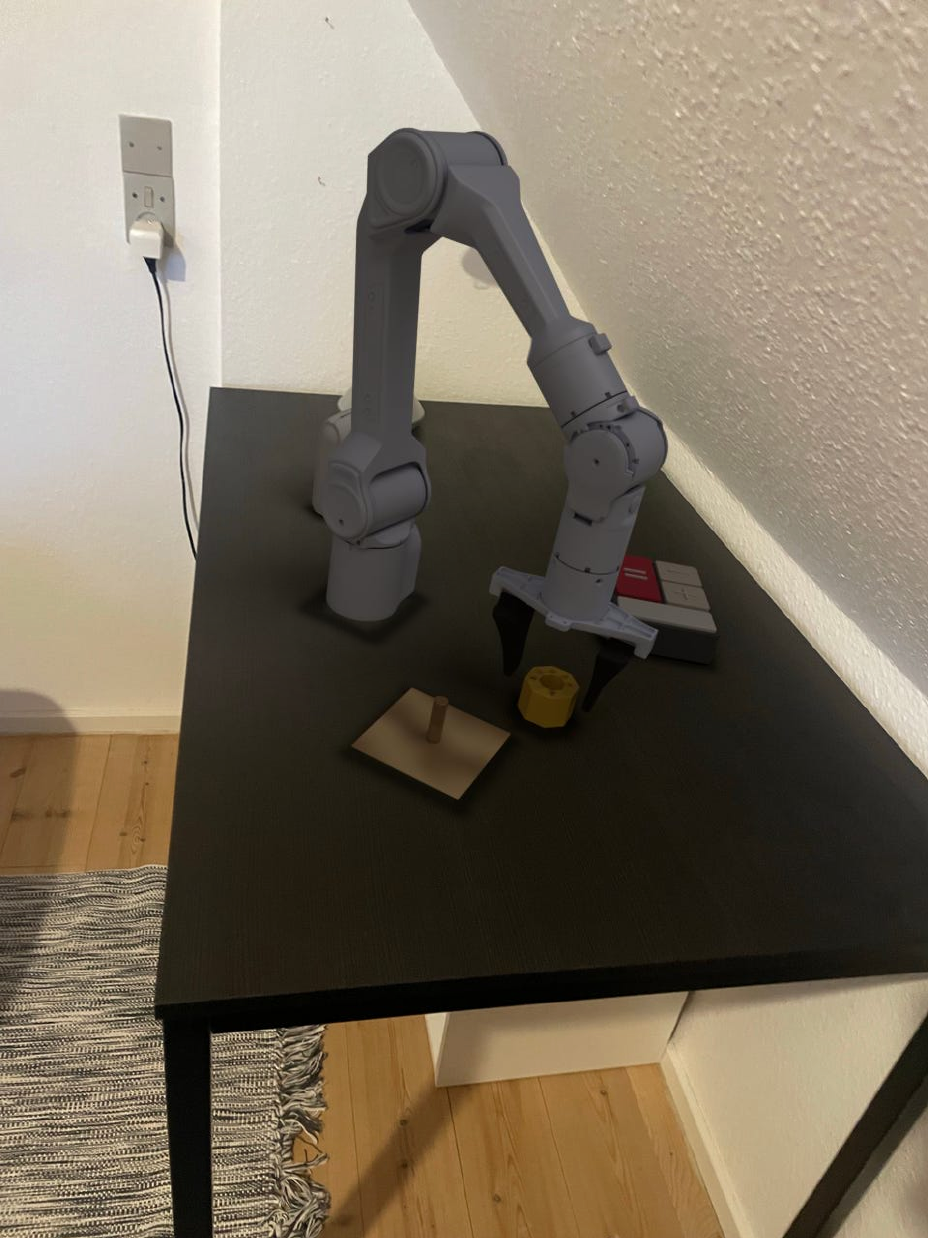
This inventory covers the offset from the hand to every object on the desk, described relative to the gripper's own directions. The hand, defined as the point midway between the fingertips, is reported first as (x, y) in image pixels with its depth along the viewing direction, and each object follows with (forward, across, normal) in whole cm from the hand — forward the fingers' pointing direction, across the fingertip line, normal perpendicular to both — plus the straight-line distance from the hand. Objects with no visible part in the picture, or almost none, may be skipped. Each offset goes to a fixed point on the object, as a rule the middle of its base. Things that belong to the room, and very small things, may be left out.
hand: (549, 688), depth 84 cm
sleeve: (+3, 0, 0) cm, 3 cm away
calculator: (+3, +3, +24) cm, 24 cm away
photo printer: (+4, -35, +22) cm, 41 cm away
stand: (+3, -6, -10) cm, 12 cm away
